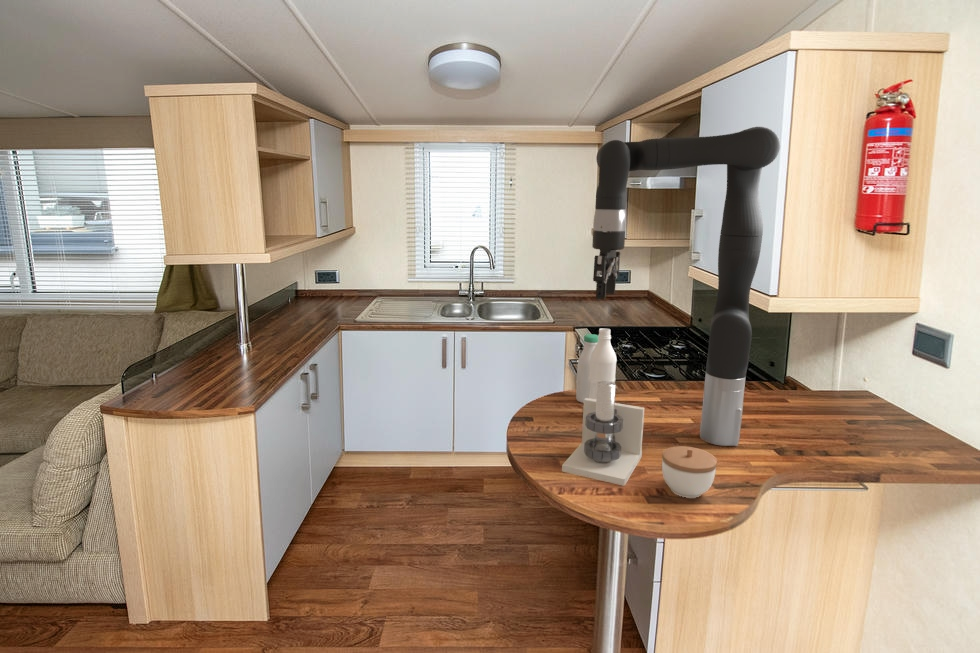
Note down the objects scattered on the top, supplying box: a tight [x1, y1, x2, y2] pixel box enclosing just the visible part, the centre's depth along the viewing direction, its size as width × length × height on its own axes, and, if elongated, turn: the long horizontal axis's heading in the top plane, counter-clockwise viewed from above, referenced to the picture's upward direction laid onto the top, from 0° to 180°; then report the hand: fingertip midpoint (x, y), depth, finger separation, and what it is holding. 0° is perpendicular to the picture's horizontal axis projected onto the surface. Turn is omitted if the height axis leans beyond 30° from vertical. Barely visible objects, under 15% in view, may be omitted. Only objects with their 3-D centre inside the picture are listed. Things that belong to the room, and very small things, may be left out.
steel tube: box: [594, 381, 617, 464], centre depth 131 cm, size 4×4×18 cm
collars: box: [584, 409, 623, 461], centre depth 133 cm, size 8×11×8 cm
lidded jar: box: [661, 445, 718, 499], centre depth 121 cm, size 11×11×9 cm
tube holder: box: [561, 398, 645, 487], centre depth 133 cm, size 14×16×12 cm
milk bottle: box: [575, 333, 599, 404], centre depth 174 cm, size 8×8×20 cm
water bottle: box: [589, 327, 618, 399], centre depth 160 cm, size 7×7×25 cm
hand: (605, 296), depth 143 cm, fingers open, 8 cm apart
